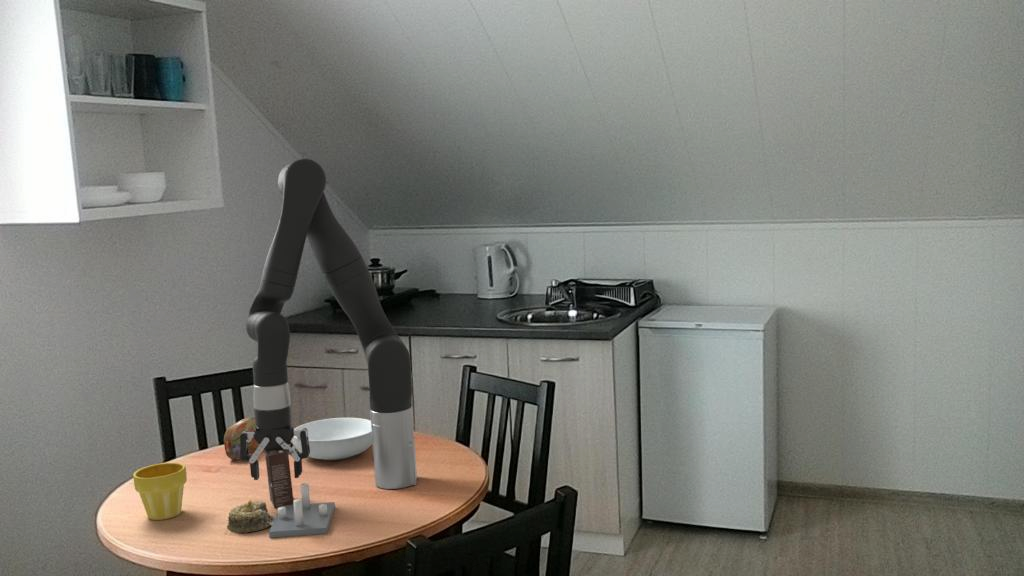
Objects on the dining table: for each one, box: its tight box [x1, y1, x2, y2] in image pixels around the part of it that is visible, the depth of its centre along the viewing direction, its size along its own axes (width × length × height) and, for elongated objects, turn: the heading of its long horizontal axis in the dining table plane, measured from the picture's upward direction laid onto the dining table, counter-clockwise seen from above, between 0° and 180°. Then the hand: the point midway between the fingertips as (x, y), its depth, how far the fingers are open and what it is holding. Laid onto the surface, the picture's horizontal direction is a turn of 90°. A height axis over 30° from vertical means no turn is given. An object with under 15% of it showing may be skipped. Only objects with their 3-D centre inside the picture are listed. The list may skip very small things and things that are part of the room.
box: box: [264, 449, 294, 509], centre depth 198 cm, size 6×4×12 cm
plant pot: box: [132, 461, 188, 521], centre depth 195 cm, size 10×10×10 cm
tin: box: [223, 417, 259, 460], centre depth 235 cm, size 15×3×8 cm, turn 168°
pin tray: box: [268, 483, 336, 538], centre depth 187 cm, size 11×14×6 cm
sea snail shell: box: [226, 499, 276, 534], centre depth 188 cm, size 10×10×5 cm
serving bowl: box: [291, 417, 373, 461], centre depth 231 cm, size 21×21×7 cm
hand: (276, 478), depth 199 cm, fingers open, 8 cm apart
